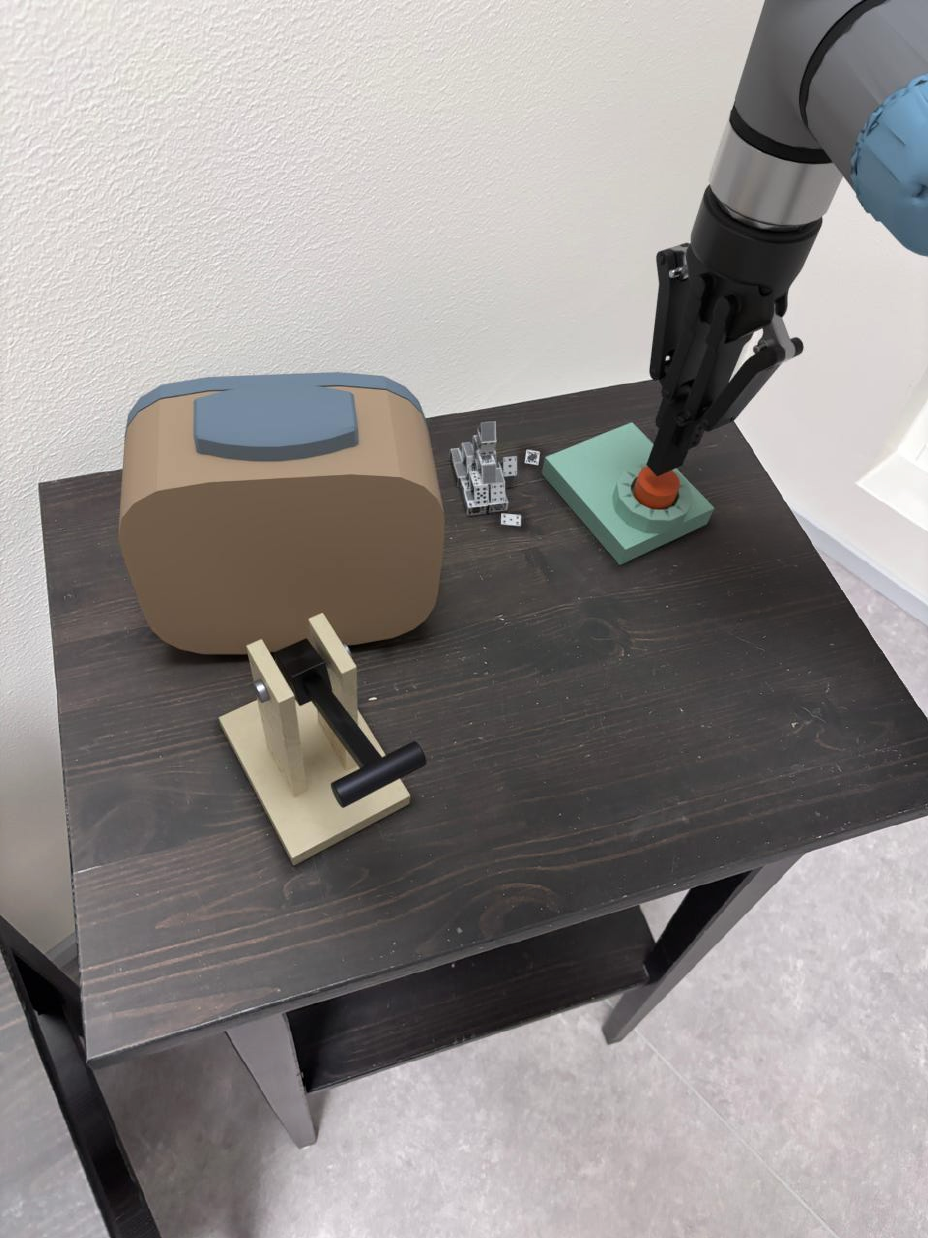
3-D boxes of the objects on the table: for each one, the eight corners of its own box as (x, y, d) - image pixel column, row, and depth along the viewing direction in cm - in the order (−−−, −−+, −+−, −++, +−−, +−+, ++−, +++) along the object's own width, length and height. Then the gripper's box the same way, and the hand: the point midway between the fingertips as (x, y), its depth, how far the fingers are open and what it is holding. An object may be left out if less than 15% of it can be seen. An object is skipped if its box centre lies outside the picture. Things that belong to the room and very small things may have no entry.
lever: (429, 776, 49) (424, 745, 48) (346, 819, 47) (338, 789, 46) (334, 657, 58) (327, 628, 56) (260, 690, 56) (251, 661, 54)
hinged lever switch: (409, 804, 65) (419, 702, 52) (293, 866, 61) (274, 773, 49) (331, 675, 70) (323, 556, 58) (221, 727, 67) (188, 611, 55)
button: (682, 500, 79) (688, 486, 77) (650, 515, 77) (655, 501, 76) (657, 473, 80) (662, 459, 79) (624, 487, 79) (629, 473, 77)
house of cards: (564, 521, 81) (581, 460, 75) (468, 532, 79) (477, 470, 73) (538, 448, 86) (552, 385, 79) (447, 457, 84) (454, 393, 78)
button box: (708, 526, 82) (723, 496, 79) (621, 567, 78) (632, 538, 75) (626, 438, 87) (636, 407, 84) (541, 473, 84) (548, 442, 81)
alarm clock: (416, 551, 77) (431, 345, 60) (432, 646, 72) (453, 451, 55) (165, 569, 74) (102, 357, 56) (162, 669, 69) (92, 470, 51)
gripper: (884, 241, 55) (749, 502, 74) (741, 133, 61) (651, 402, 80) (794, 273, 52) (678, 535, 72) (654, 157, 58) (582, 429, 77)
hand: (664, 464), depth 76 cm, fingers closed
